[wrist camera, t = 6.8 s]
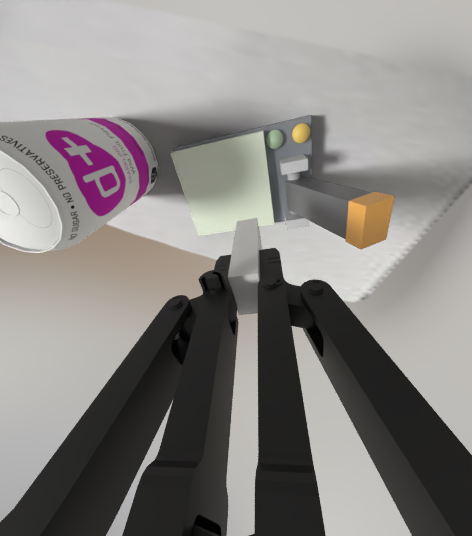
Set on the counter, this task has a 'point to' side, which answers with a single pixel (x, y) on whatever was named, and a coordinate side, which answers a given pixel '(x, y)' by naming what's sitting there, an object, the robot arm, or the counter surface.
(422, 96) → the counter surface
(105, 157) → the supplement can
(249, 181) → the panel
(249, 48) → the counter surface
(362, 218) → the breaker lever
